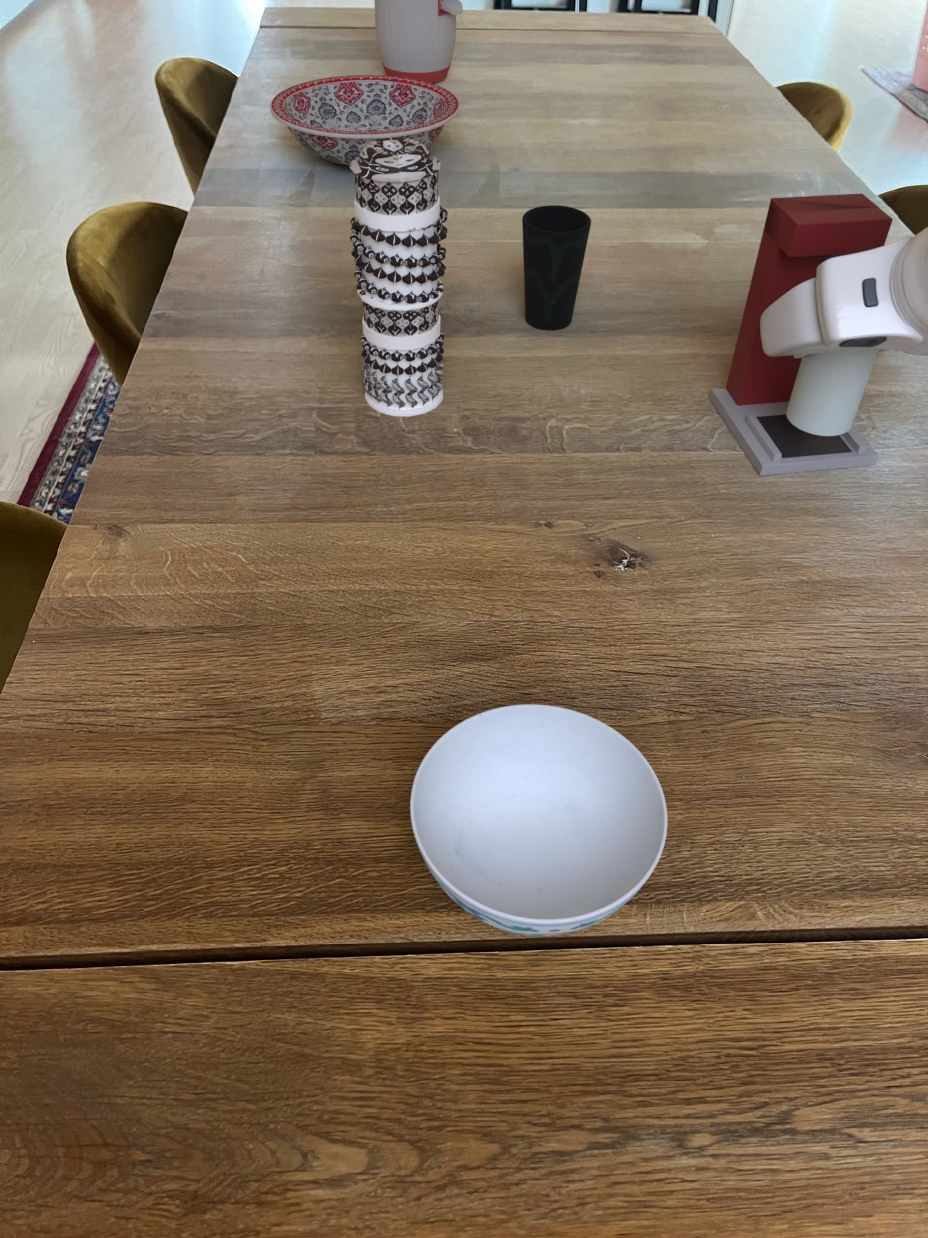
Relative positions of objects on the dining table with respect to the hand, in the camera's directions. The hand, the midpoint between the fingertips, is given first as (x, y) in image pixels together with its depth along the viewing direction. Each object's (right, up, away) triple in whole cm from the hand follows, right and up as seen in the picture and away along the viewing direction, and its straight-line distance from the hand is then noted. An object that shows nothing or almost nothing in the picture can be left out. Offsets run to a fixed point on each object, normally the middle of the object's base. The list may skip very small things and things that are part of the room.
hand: (838, 346), depth 86 cm
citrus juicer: (-43, +79, +95) cm, 131 cm away
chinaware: (-30, -41, -25) cm, 57 cm away
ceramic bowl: (-50, +49, +65) cm, 95 cm away
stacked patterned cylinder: (-41, -1, +15) cm, 43 cm away
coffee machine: (-1, -6, +11) cm, 12 cm away
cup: (-24, +11, +27) cm, 38 cm away
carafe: (0, -5, +5) cm, 7 cm away
